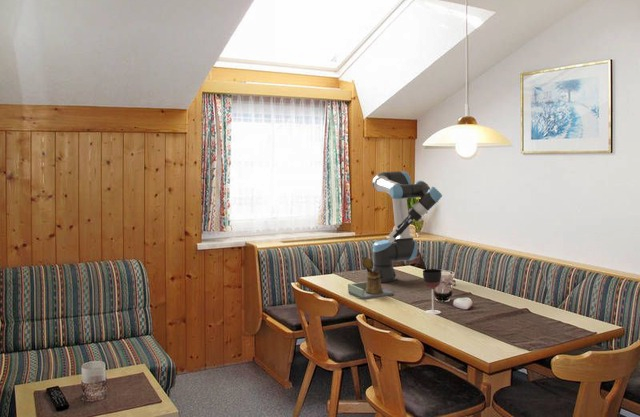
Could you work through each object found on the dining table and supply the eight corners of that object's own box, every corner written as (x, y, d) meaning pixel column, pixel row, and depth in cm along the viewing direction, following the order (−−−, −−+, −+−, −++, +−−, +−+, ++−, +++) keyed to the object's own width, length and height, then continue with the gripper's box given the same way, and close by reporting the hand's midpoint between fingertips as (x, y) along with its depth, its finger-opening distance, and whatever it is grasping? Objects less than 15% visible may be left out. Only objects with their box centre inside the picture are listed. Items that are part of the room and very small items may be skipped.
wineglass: (421, 310, 291) (420, 269, 289) (439, 309, 291) (438, 268, 289) (426, 314, 283) (425, 273, 281) (444, 313, 283) (443, 272, 281)
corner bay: (378, 288, 338) (378, 279, 337) (393, 294, 323) (393, 285, 323) (348, 293, 330) (348, 284, 329) (362, 299, 315) (362, 290, 315)
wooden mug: (373, 287, 335) (372, 256, 333) (385, 292, 323) (384, 259, 321) (359, 289, 331) (358, 257, 330) (371, 295, 319) (370, 261, 317)
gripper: (423, 219, 309) (394, 248, 313) (422, 213, 333) (395, 239, 337) (412, 209, 309) (383, 238, 313) (412, 203, 333) (385, 230, 337)
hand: (389, 239), depth 325 cm, fingers open, 13 cm apart
